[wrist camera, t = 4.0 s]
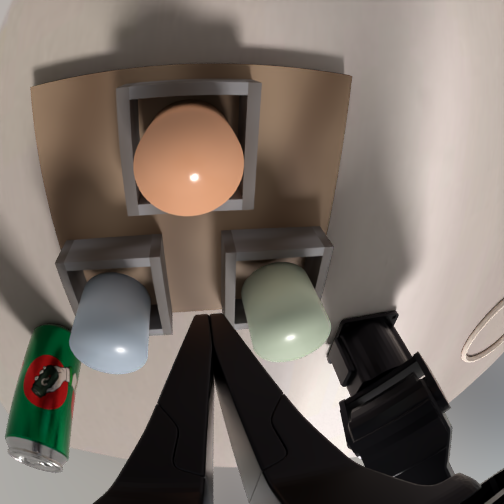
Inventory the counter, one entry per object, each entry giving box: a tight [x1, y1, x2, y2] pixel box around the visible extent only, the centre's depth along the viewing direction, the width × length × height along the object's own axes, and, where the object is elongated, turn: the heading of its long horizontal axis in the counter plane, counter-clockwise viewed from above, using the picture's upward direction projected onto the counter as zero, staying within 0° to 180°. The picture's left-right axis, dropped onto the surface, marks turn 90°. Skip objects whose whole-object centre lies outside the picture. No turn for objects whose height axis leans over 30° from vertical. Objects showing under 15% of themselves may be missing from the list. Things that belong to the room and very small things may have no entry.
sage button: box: [241, 262, 331, 362], centre depth 18 cm, size 4×4×4 cm
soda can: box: [5, 324, 81, 473], centre depth 19 cm, size 5×5×12 cm
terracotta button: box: [133, 99, 244, 216], centre depth 14 cm, size 4×4×4 cm
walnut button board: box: [31, 64, 352, 336], centre depth 18 cm, size 18×16×3 cm
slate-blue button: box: [69, 272, 151, 374], centre depth 17 cm, size 4×4×4 cm
